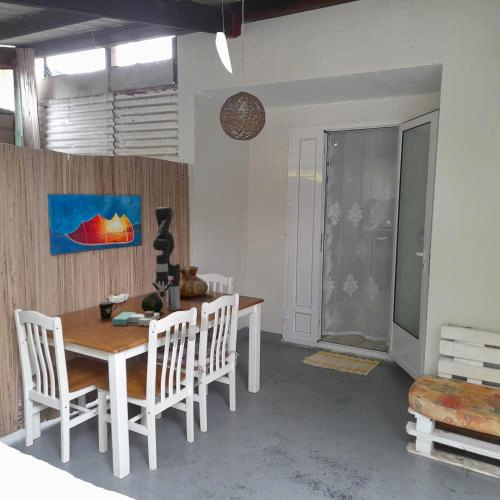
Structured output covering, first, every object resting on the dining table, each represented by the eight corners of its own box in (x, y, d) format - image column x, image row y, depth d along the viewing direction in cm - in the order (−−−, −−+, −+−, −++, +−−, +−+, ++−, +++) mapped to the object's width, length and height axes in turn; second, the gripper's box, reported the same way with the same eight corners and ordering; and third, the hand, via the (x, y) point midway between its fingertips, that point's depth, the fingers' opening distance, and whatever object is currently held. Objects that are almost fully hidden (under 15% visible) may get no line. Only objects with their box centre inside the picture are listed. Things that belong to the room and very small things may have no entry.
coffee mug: (99, 319, 298) (98, 304, 297) (99, 316, 306) (99, 301, 305) (117, 318, 301) (117, 303, 300) (117, 315, 309) (117, 300, 308)
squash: (135, 307, 309) (149, 291, 308) (140, 303, 324) (154, 287, 323) (150, 321, 309) (164, 305, 308) (155, 316, 324) (169, 301, 323)
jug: (166, 294, 378) (165, 264, 375) (199, 290, 392) (199, 262, 389) (178, 301, 352) (177, 269, 349) (213, 297, 366) (213, 267, 363)
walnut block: (146, 314, 295) (146, 311, 294) (154, 315, 294) (154, 311, 294) (144, 316, 290) (144, 313, 289) (151, 317, 289) (151, 313, 289)
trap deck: (123, 317, 303) (123, 311, 303) (159, 318, 301) (159, 312, 300) (112, 324, 286) (112, 318, 285) (151, 326, 283) (150, 319, 283)
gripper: (173, 269, 291) (174, 296, 293) (153, 269, 292) (154, 295, 294) (170, 271, 283) (170, 298, 285) (150, 271, 285) (150, 298, 287)
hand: (162, 297), depth 290 cm, fingers closed
